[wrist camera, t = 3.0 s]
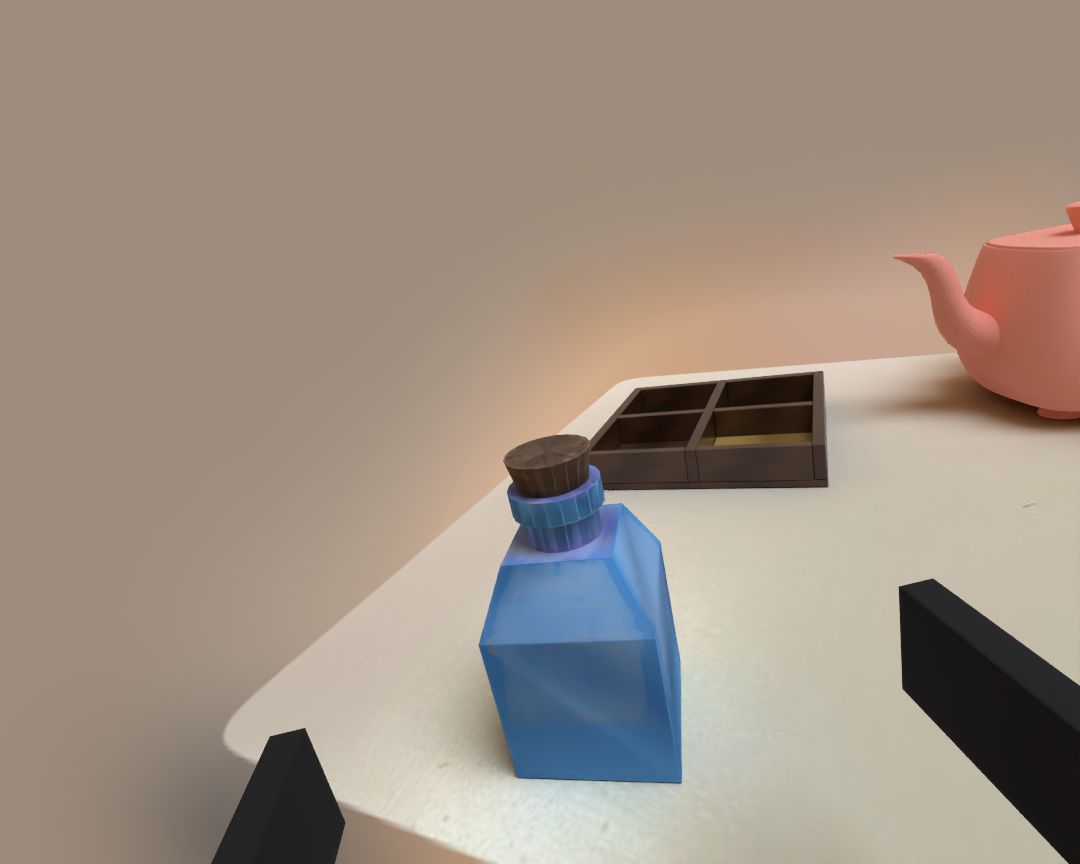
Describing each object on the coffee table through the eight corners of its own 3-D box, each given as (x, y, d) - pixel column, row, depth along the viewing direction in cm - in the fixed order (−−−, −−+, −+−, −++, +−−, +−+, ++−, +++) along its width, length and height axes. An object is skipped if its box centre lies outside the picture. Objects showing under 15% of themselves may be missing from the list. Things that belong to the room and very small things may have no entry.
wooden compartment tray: (583, 490, 46) (576, 455, 45) (639, 415, 61) (635, 388, 60) (828, 486, 39) (825, 444, 38) (825, 402, 53) (823, 370, 52)
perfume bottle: (681, 782, 21) (625, 477, 17) (517, 777, 23) (435, 498, 19) (680, 660, 27) (638, 411, 23) (549, 663, 28) (490, 432, 25)
